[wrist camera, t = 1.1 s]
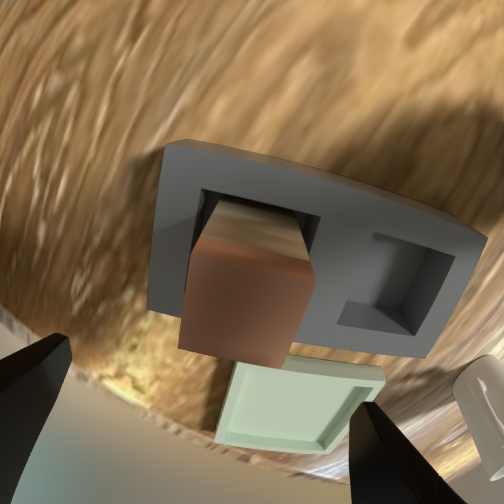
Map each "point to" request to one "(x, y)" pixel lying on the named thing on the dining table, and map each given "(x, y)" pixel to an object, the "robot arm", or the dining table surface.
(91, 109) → the dining table surface
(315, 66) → the dining table surface
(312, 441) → the tray
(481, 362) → the mug
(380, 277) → the grey cinder block
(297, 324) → the plug
